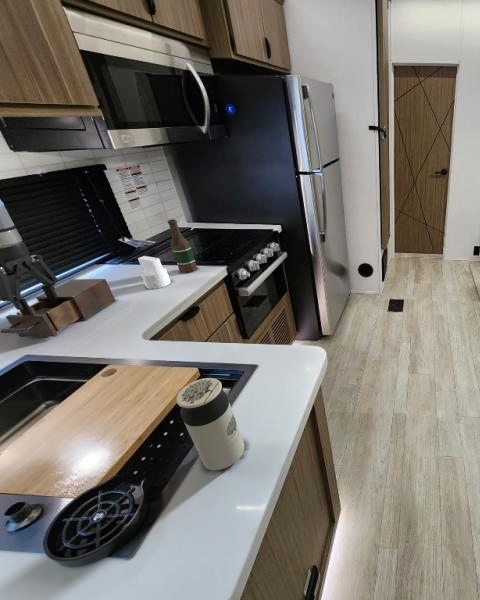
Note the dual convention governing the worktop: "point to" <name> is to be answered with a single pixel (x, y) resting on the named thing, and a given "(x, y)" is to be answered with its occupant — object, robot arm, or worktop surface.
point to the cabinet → (85, 295)
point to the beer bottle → (181, 249)
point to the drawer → (43, 319)
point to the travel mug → (211, 423)
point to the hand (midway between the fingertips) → (43, 309)
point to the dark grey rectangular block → (42, 311)
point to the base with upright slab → (153, 272)
